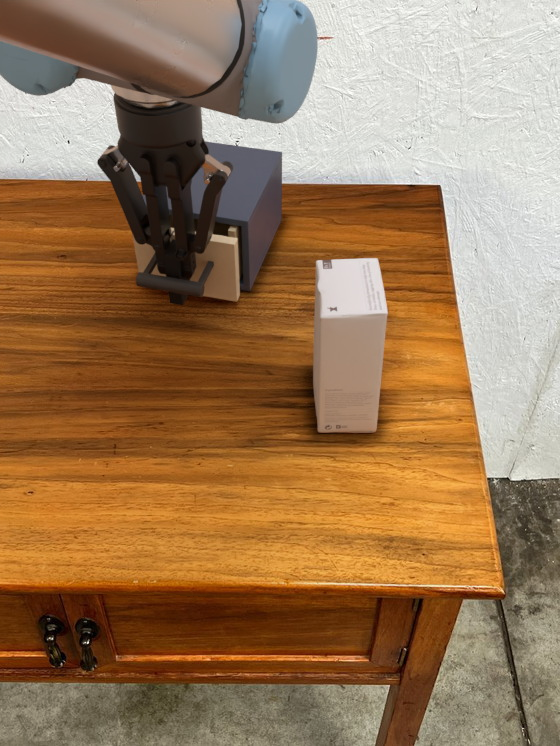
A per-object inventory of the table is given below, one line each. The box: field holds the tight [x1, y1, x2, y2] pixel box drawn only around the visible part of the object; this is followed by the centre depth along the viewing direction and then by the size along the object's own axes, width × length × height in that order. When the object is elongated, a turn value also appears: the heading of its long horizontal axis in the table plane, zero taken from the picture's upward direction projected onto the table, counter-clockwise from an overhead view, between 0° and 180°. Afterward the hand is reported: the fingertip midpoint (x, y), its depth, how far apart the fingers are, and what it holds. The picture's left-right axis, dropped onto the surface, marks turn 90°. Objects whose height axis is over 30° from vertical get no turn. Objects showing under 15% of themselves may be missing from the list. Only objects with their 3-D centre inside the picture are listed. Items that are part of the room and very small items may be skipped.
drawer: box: [132, 215, 243, 302], centre depth 87 cm, size 19×11×8 cm, turn 166°
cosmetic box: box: [312, 257, 389, 434], centre depth 71 cm, size 8×6×15 cm
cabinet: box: [142, 140, 283, 292], centre depth 91 cm, size 15×13×10 cm
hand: (180, 296), depth 84 cm, fingers closed
